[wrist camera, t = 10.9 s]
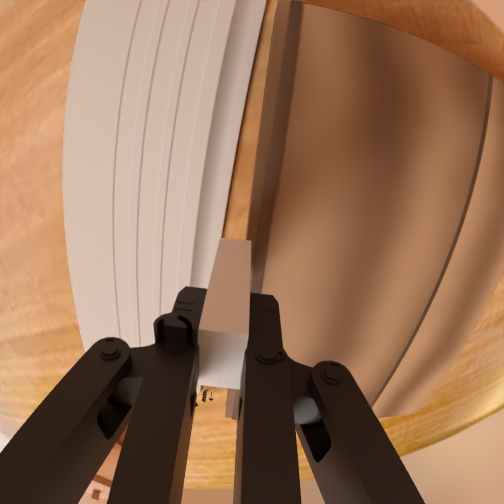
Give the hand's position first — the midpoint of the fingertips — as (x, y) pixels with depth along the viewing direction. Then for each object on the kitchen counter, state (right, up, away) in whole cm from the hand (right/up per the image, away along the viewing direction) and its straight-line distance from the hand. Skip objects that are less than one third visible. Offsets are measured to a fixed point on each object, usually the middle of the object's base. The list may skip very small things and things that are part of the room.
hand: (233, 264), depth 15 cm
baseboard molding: (-5, +3, +4) cm, 7 cm away
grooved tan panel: (+10, 0, +4) cm, 10 cm away
